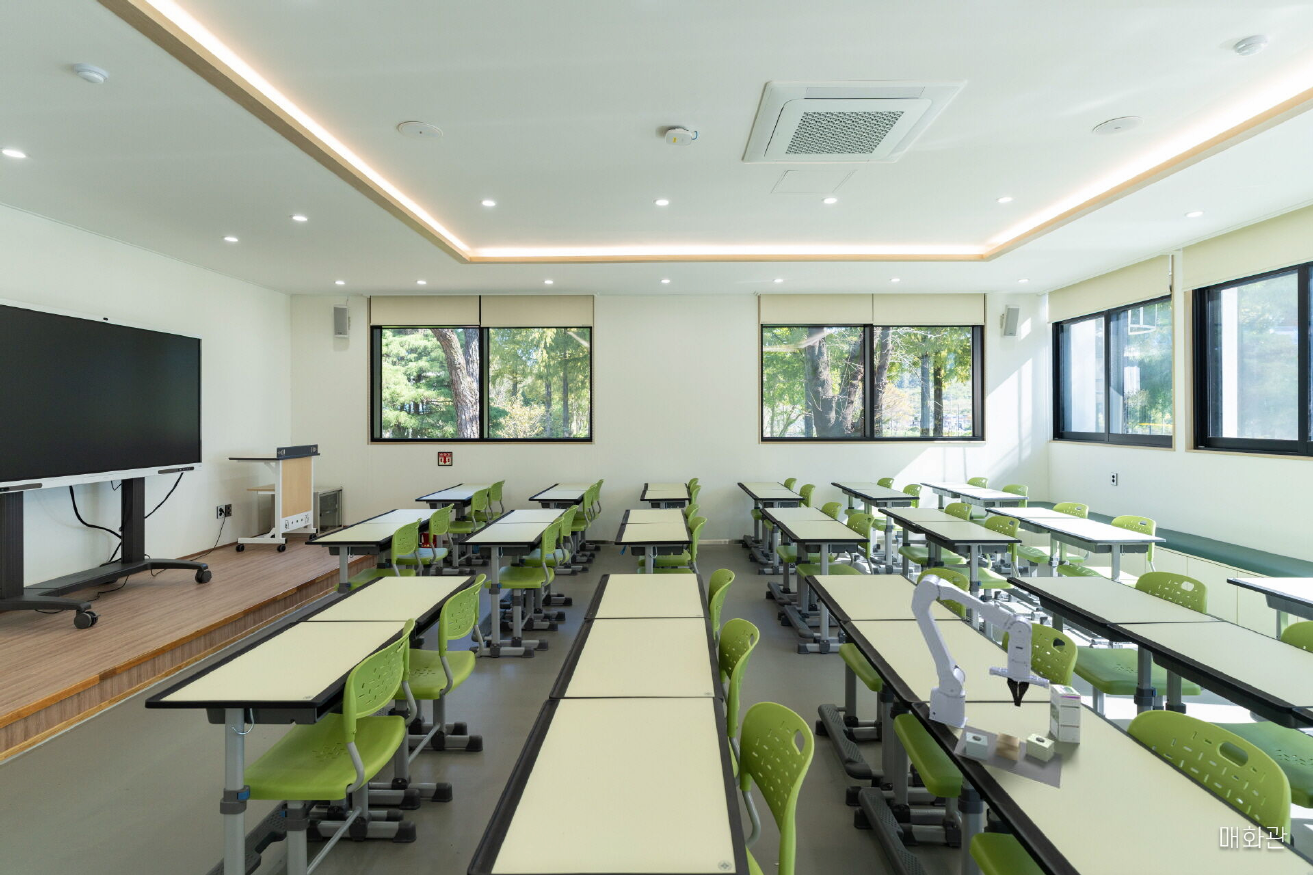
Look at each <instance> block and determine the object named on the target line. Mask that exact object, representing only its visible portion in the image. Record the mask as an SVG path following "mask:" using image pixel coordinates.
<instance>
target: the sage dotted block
mask: <svg viewBox="0 0 1313 875" xmlns="http://www.w3.org/2000/svg"><path fill="white" fill-rule="evenodd" d="M1025 741H1026V742H1025V743H1026V754H1029V755H1031V756H1033V757H1036V758H1038V759H1040V760H1043V761H1045V762H1048V761H1049V760H1050V759H1051V758H1052V757H1053V756H1054V752H1055V748H1054V747H1055V741H1054V740H1052V739H1049V738H1046V737H1044V736H1041V735H1039V734H1037V733H1032V734H1031V735H1030V736H1028V738H1026V740H1025Z"/></svg>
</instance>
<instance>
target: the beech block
mask: <svg viewBox="0 0 1313 875" xmlns="http://www.w3.org/2000/svg"><path fill="white" fill-rule="evenodd" d="M997 735H998V738H997V749H996V755H999V756H1003V757H1006V758H1009V759H1012V760H1015V761H1018V758H1019V753H1020V742H1021V738H1020V737H1015V736H1012V735H1009V734H1006V733H1002V732H998V734H997Z"/></svg>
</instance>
